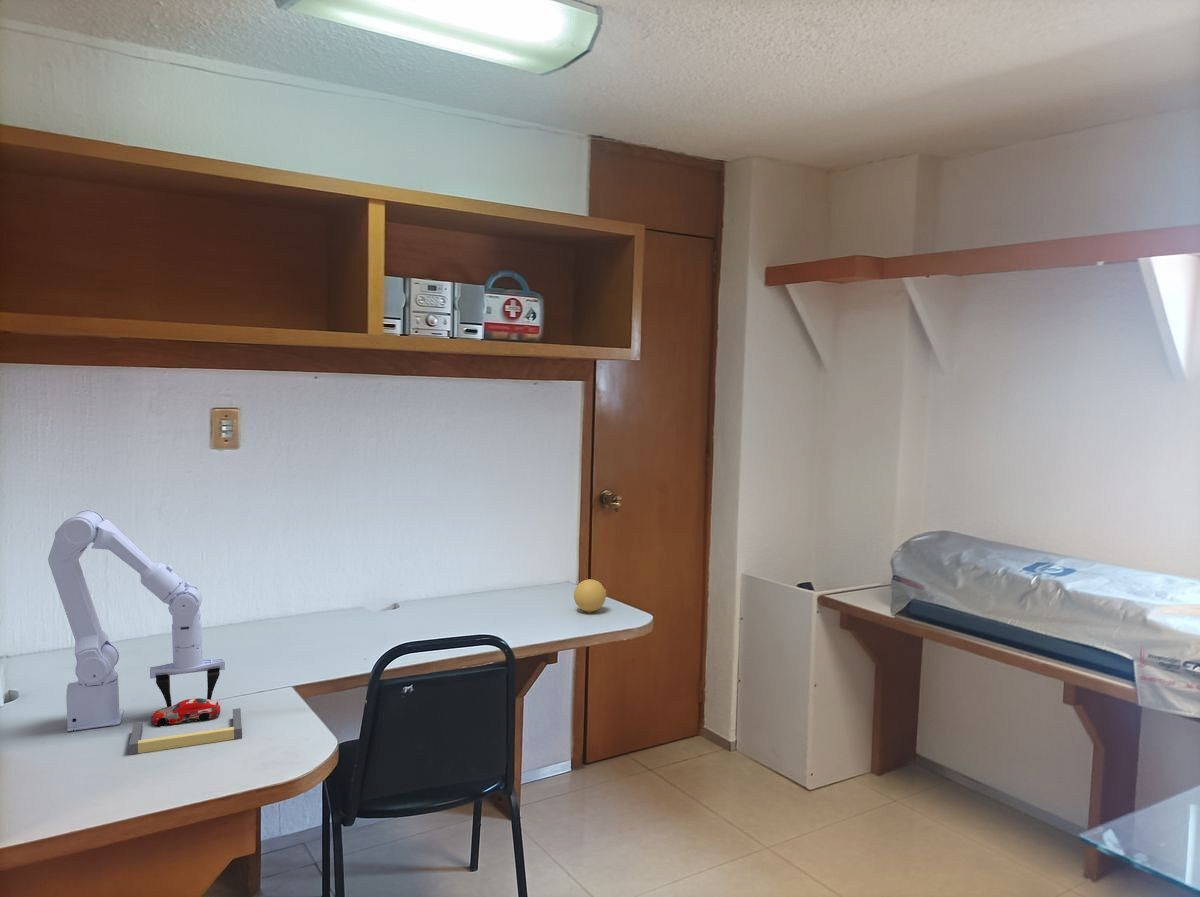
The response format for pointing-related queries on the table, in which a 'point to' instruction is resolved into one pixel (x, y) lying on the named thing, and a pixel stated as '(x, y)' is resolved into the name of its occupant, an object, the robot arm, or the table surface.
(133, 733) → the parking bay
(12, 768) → the table surface
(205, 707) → the race car
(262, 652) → the table surface
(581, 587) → the stress ball
